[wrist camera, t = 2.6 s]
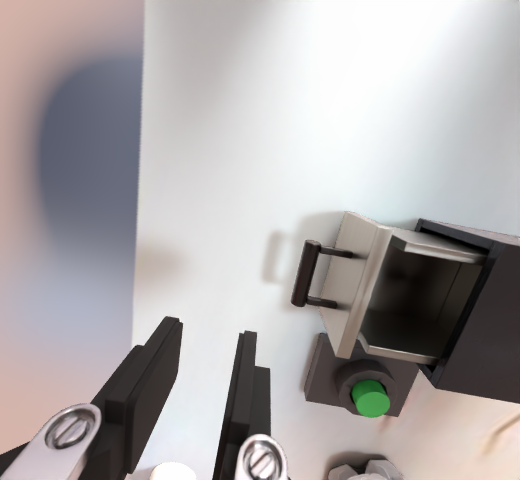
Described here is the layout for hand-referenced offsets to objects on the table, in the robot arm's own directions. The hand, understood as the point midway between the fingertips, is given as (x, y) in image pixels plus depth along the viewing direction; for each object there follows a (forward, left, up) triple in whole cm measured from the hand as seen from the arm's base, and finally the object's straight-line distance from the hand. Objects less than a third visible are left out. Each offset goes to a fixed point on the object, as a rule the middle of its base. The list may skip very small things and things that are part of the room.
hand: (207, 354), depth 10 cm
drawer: (+14, 0, -16) cm, 22 cm away
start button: (+17, -14, -14) cm, 26 cm away
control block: (+17, -14, -17) cm, 28 cm away
